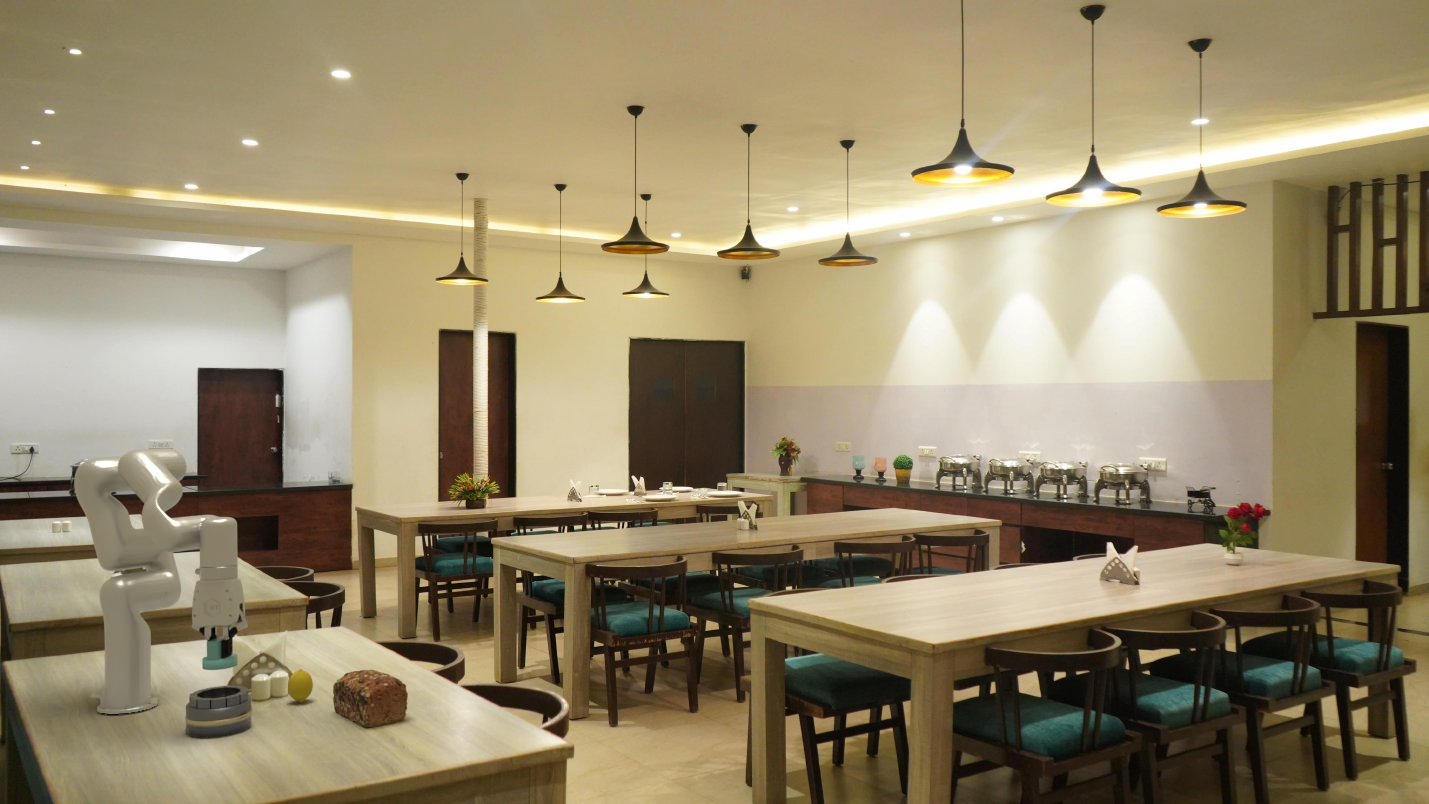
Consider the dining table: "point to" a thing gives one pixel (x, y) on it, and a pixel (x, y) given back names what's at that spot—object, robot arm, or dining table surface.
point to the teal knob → (217, 657)
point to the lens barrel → (218, 712)
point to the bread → (370, 698)
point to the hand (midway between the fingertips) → (220, 656)
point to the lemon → (300, 685)
